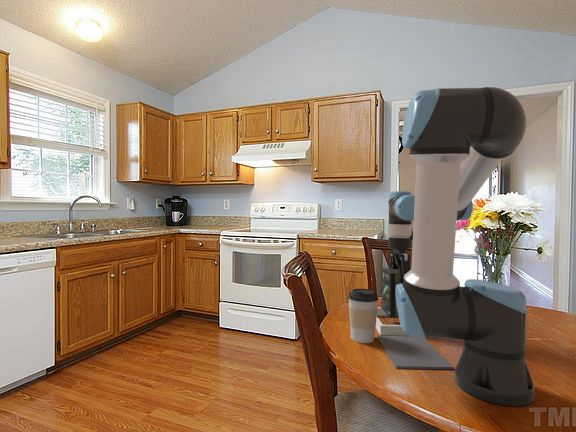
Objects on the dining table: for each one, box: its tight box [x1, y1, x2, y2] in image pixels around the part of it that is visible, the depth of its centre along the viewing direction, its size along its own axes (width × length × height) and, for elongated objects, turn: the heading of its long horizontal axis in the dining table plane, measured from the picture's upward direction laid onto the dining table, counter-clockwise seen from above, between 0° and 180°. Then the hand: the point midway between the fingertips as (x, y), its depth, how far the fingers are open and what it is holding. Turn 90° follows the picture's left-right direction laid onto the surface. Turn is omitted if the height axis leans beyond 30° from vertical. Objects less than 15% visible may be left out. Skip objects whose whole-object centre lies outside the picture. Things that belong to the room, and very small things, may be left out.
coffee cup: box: [347, 288, 379, 344], centre depth 103 cm, size 9×9×15 cm
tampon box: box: [380, 267, 401, 318], centre depth 115 cm, size 11×9×15 cm
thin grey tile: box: [376, 335, 454, 371], centre depth 94 cm, size 20×14×1 cm
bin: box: [375, 306, 408, 336], centre depth 116 cm, size 20×17×3 cm
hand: (398, 301), depth 115 cm, fingers closed on tampon box, 11 cm apart
